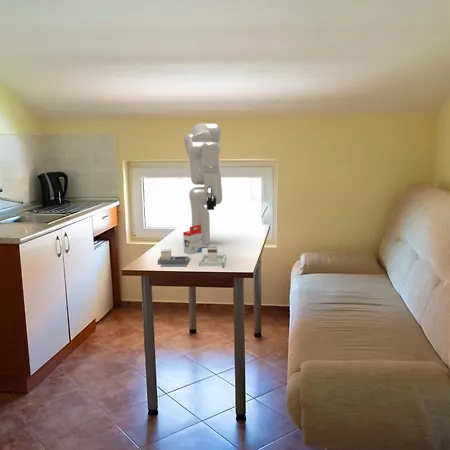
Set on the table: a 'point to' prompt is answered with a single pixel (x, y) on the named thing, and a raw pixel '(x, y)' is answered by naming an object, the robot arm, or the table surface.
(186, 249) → the ink box
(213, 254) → the grey rectangular block
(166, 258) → the block
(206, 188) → the robot arm
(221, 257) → the parts tray
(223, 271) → the table surface
